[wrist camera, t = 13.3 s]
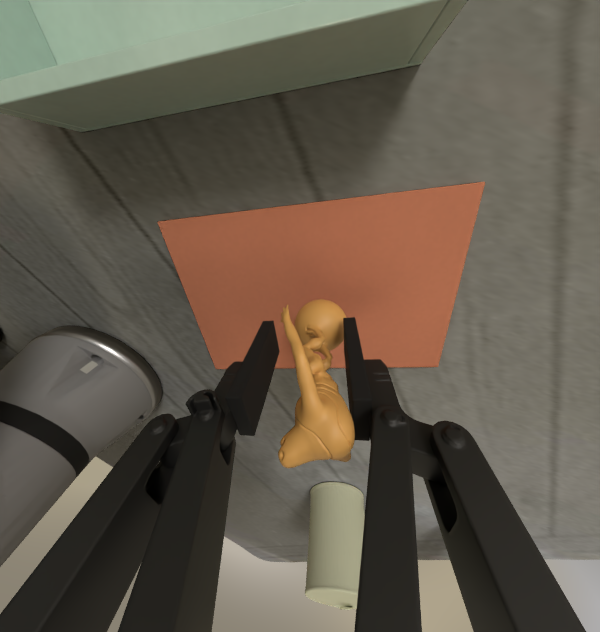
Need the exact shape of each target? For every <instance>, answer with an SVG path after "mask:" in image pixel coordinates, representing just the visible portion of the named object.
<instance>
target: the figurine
mask: <svg viewBox="0 0 600 632" xmlns="http://www.w3.org/2000/svg"><path fill="white" fill-rule="evenodd" d="M281 316H282V319H281V321H280V322H281V323H283V324H284V330H285V333H286V336H287V339H288V341H289V342H290V344H291V348H292V354H293V357H294V360H295V366H296V373H297V379H298V384H299V387H300V391H301V397H300V398H299V400H298V401H297V404H296V407H295V426H294V427H293V428H292V429H291V430H290V431H289V432H288V433H287V434H286V435H285V436H284V437H283V438H282V440H281V442H280V443H281V446H282V447H281V448H280V450H279V452H278V456H279V460H280V462H281V464H282V465H283V466H284V467H286V468H293V467H296V466H299V465H301V464H304V463H307V462H310V461H314V460H328V459H332V460H339V461H343V462H347V461H349V460H350V459H351V454H350V451H351V449H352V448H353V445H354V440H355V430H354V423H353V419H352V416H351V414H350V412H349V410H348V408H347V406H346V404H345V402H344V400H343V398H342V397H341V395H340V394H339V393H338V385H337V384H336V383H335V382H334V381H333V380H332V378H331V376H330V375H329V374H327V373H326V372H325V371H326V370H328V369H329V368H330V367H331V360H332V354H331V353H330V351H331V350H333V349H335V348H336V347H338V346H339V345H340V344H341V343H342V342H343V340H344V326H343V318H346V315H345V313H344V312H343V310H342V309H341V308H340V307H339V306H338V305H337V304H335V303H334V302H332V301H329V300H324V299H318V300H313V301H311V302H308V303H307V304H305V305H304V306H303V307H302V308H301V309H300V310H299V312H298V314H297V316H296V319H295V327H294V325H293V324H292V322H291V320H290V315H289V309H288V305H287V306H286V309H285V307H283V312H281ZM302 344H303V345H302ZM313 351H315V352H321V353H322V354H323V355H324V356H325V359H323V360H322V359H321V357H320V355H318V354H316V353H314V352H313Z"/></svg>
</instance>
